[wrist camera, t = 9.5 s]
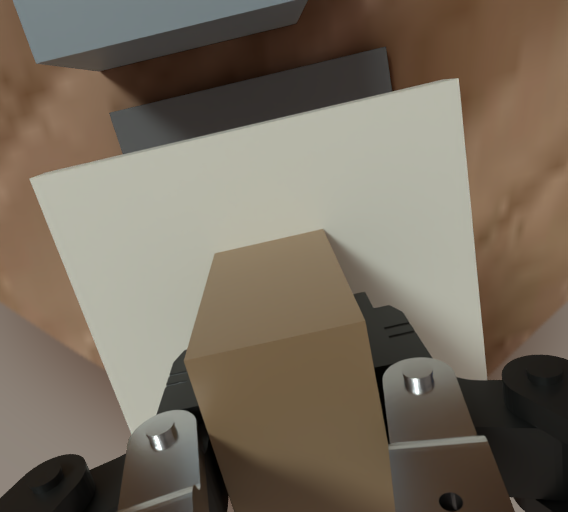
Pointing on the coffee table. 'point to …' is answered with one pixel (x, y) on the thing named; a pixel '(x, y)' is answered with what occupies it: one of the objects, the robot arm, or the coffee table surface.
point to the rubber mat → (253, 101)
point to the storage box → (141, 27)
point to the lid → (279, 282)
